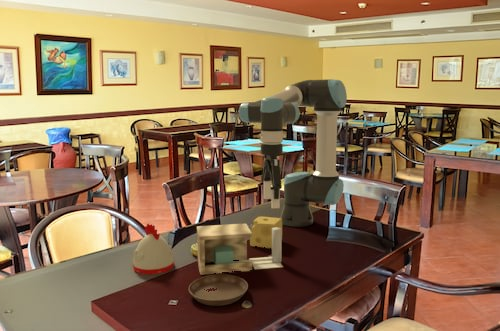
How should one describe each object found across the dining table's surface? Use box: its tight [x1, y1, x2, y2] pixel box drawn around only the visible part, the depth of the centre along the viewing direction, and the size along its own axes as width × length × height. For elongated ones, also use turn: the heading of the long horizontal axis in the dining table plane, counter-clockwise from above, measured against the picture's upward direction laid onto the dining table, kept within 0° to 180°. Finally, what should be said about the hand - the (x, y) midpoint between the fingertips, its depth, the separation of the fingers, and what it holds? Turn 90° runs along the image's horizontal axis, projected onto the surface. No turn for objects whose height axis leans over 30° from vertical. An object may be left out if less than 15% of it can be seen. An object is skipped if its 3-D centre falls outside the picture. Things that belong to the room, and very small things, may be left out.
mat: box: [248, 256, 284, 270], centre depth 161 cm, size 10×10×1 cm
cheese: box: [249, 215, 283, 250], centre depth 181 cm, size 10×11×10 cm
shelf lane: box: [196, 223, 253, 276], centre depth 157 cm, size 18×12×13 cm, turn 101°
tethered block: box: [213, 227, 283, 265], centre depth 159 cm, size 24×6×12 cm, turn 101°
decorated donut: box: [190, 242, 198, 258], centre depth 171 cm, size 10×11×4 cm
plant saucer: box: [188, 273, 249, 307], centre depth 136 cm, size 18×18×3 cm
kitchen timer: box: [132, 223, 175, 275], centre depth 158 cm, size 14×14×15 cm
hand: (271, 203), depth 160 cm, fingers open, 13 cm apart
